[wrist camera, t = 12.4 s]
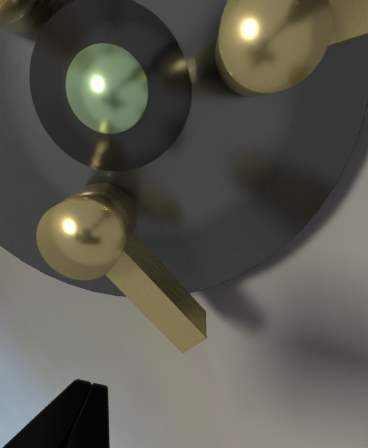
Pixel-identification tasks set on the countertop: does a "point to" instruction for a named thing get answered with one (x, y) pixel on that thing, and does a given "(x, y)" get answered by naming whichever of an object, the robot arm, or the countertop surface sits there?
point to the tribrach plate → (205, 170)
